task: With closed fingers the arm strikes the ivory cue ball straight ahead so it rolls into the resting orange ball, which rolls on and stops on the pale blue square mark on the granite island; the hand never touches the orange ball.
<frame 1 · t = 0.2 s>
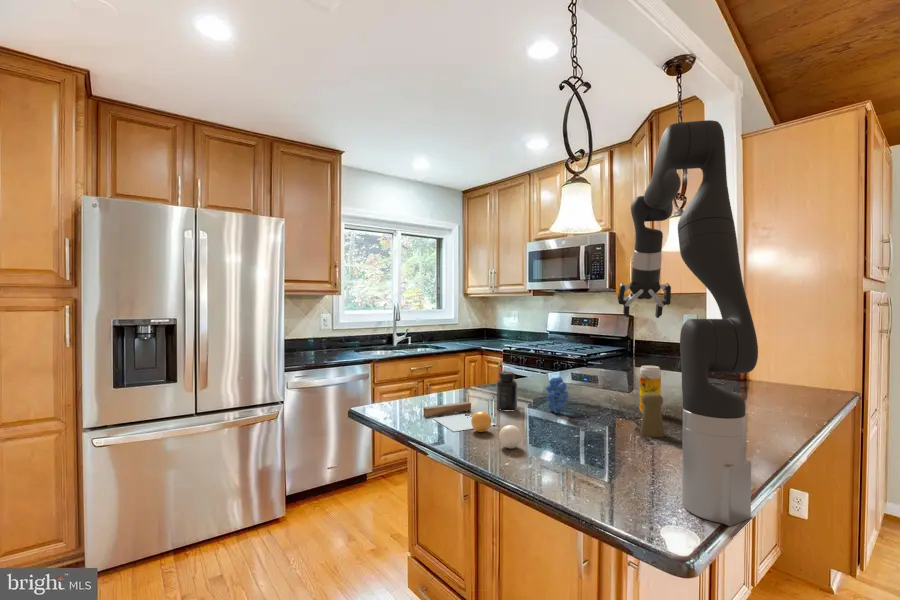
hand: (642, 316, 128), 31 cm above the countertop, tool tilted 20°, fingers open, 8 cm apart
cue ball: (510, 436, 104), on the countertop
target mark: (464, 422, 125), on the countertop
supplement bottle: (506, 409, 140), on the countertop
olive tall flared piece: (652, 434, 115), on the countertop
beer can: (650, 414, 135), on the countertop
grapes: (559, 413, 135), on the countertop
orange ball: (481, 421, 116), on the countertop
wooden stick: (447, 412, 135), on the countertop
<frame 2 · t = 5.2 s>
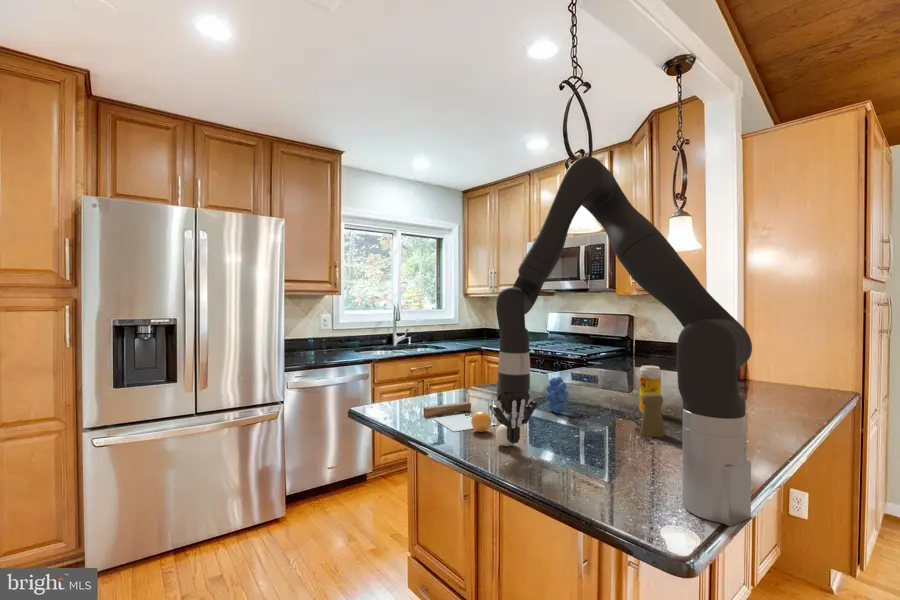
hand: (513, 442, 101), 2 cm above the countertop, tool pointing down, fingers closed
cue ball: (506, 434, 105), on the countertop, touching gripper
everything else where it was.
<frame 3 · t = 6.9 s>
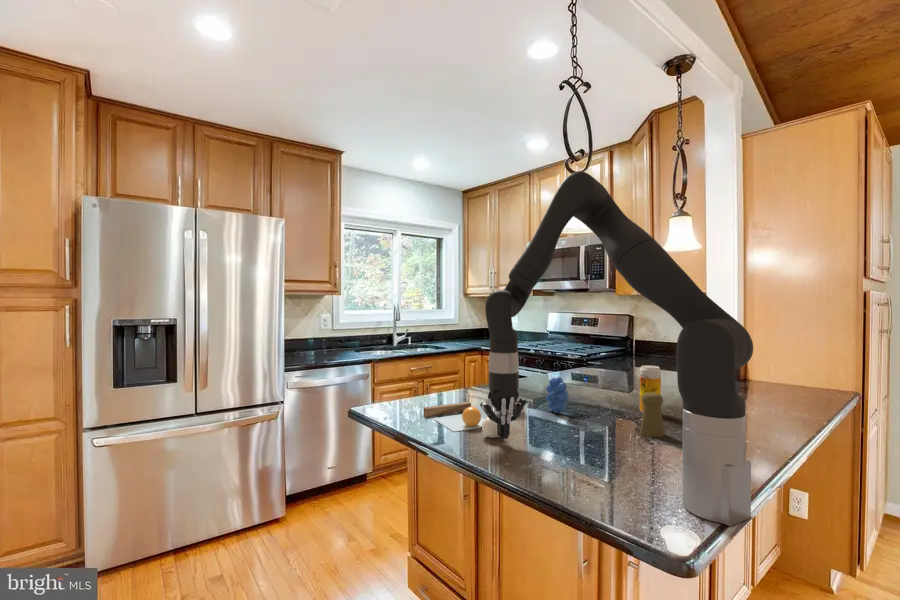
hand: (503, 438, 106), 2 cm above the countertop, tool pointing down, fingers closed
cue ball: (492, 427, 111), on the countertop
orange ball: (471, 416, 121), on the countertop
everything else where it was.
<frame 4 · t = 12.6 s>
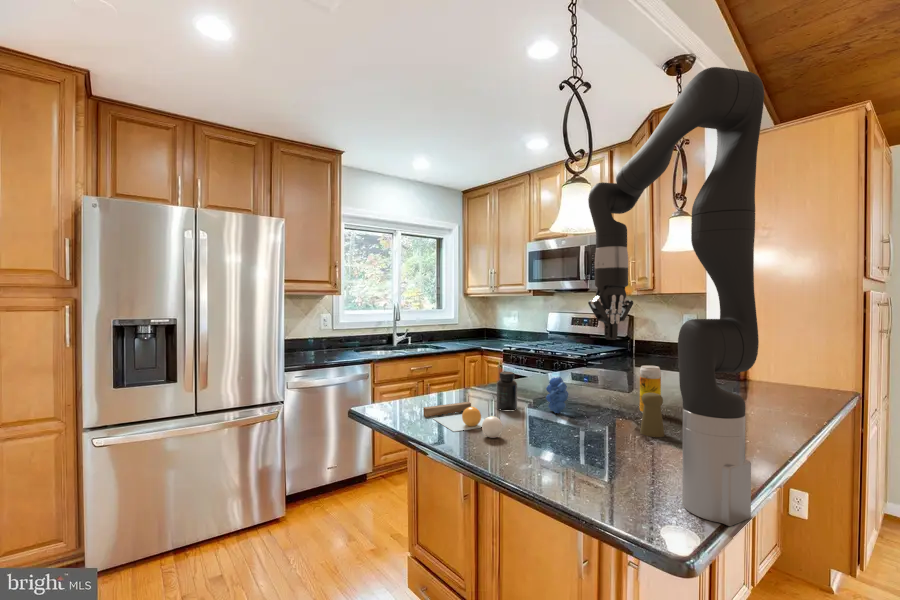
hand: (611, 339, 101), 27 cm above the countertop, tool pointing down, fingers closed
nothing on the countertop moved.
at the end: orange ball 4.6 cm from the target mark (horizontally); orange ball never touched the robot; cue ball first touched orange ball at 5.5 s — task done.
